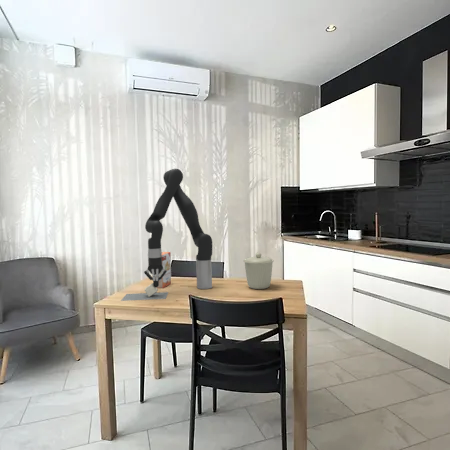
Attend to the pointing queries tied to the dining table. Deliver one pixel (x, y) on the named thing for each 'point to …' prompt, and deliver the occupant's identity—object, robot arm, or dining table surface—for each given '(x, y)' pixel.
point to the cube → (150, 290)
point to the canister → (258, 271)
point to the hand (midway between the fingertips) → (156, 287)
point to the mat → (144, 296)
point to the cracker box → (167, 266)
